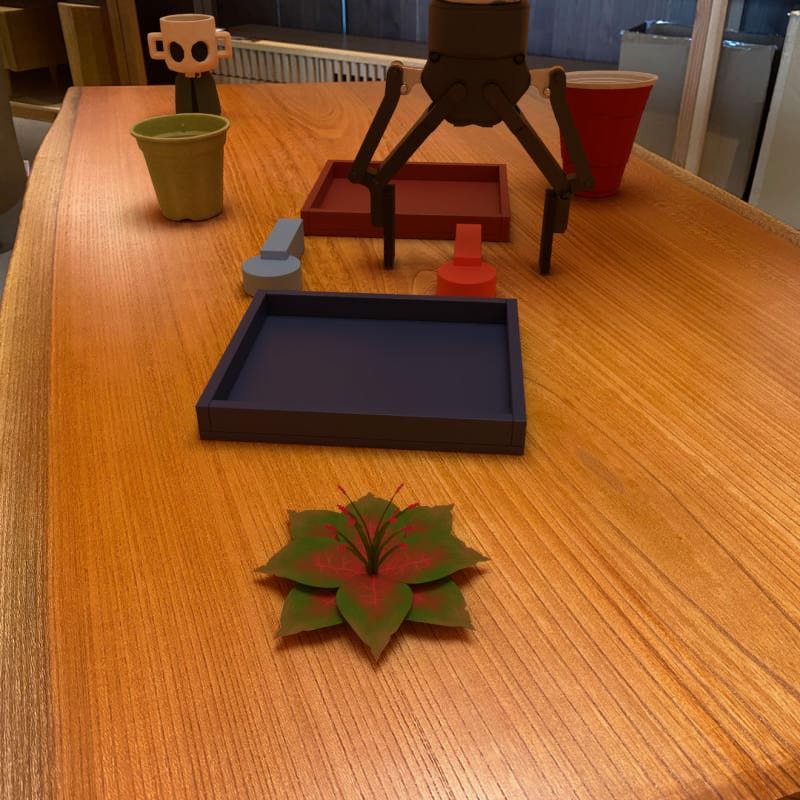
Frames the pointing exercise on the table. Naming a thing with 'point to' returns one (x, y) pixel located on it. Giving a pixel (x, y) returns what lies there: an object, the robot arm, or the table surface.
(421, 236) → the brick tray
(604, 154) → the plastic cup
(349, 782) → the table surface
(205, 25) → the pink mug head figurine
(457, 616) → the lily flower
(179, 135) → the plant pot
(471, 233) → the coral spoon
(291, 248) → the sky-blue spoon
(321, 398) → the navy tray
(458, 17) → the robot arm
